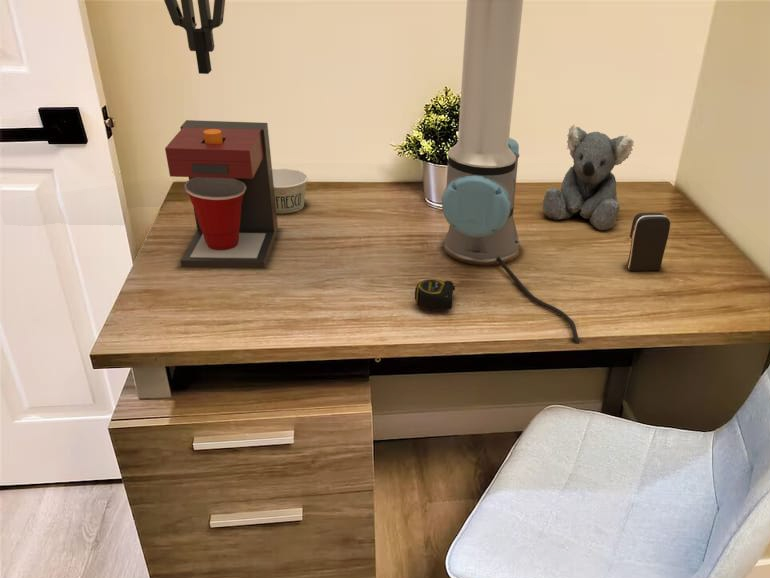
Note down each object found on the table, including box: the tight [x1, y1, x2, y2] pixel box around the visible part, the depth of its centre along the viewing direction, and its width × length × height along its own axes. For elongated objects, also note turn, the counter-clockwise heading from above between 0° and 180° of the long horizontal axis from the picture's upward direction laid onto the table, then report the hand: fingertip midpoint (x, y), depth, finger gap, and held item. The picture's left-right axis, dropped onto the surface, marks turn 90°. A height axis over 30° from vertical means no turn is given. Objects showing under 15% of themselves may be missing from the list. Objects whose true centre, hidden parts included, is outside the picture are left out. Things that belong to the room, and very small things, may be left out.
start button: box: [203, 129, 223, 144], centre depth 129 cm, size 3×3×2 cm
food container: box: [272, 167, 309, 214], centre depth 162 cm, size 12×12×6 cm
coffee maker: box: [164, 119, 279, 269], centre depth 138 cm, size 18×15×22 cm
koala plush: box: [542, 124, 635, 231], centre depth 165 cm, size 17×18×20 cm
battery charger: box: [626, 211, 671, 272], centre depth 144 cm, size 7×4×11 cm, turn 100°
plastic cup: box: [183, 177, 247, 250], centre depth 138 cm, size 11×11×12 cm
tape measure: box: [414, 278, 456, 312], centre depth 128 cm, size 7×7×4 cm
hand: (205, 71), depth 123 cm, fingers closed
